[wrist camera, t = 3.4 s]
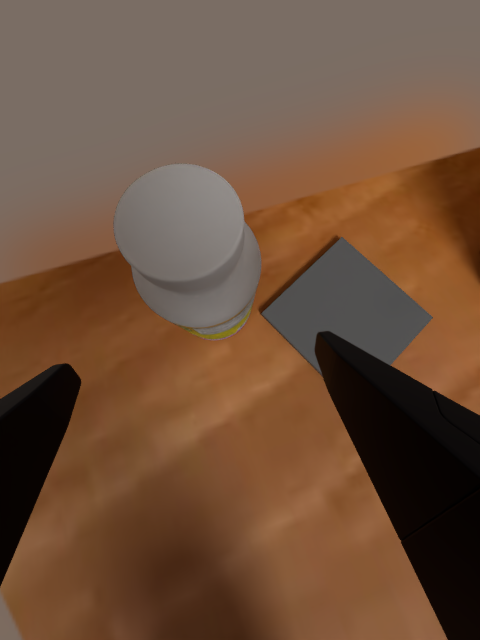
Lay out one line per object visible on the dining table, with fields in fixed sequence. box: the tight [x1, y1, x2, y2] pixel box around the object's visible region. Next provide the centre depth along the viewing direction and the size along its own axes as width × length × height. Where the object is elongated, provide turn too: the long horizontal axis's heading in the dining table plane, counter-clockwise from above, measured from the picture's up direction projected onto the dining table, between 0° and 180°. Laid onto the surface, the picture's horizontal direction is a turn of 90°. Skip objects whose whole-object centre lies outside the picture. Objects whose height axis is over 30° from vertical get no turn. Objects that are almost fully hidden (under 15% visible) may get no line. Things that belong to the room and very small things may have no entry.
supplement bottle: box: [114, 164, 261, 340], centre depth 14 cm, size 7×7×13 cm
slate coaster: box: [261, 237, 433, 377], centre depth 20 cm, size 11×11×1 cm
